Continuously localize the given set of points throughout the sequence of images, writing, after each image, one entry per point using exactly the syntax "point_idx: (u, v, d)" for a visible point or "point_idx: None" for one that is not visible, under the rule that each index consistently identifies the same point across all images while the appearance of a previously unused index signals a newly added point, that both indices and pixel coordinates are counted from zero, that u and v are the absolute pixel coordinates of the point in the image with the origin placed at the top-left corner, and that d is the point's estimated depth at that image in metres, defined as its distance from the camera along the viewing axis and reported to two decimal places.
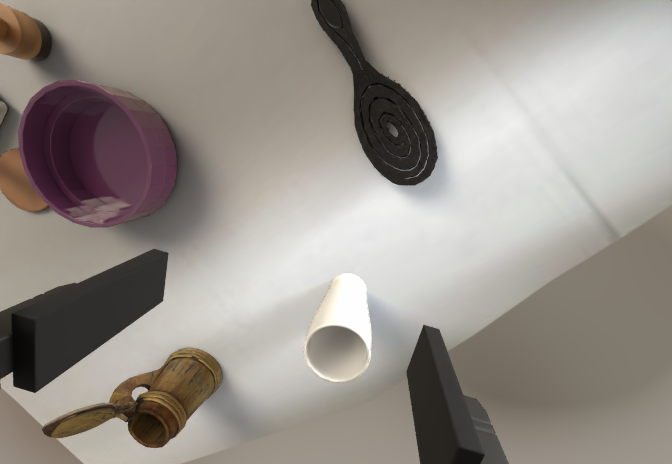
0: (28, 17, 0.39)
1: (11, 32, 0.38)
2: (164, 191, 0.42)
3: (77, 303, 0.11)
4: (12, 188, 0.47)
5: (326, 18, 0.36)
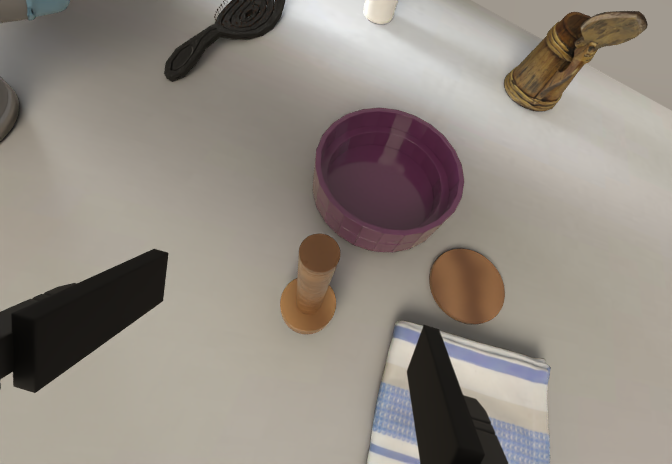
0: None
1: None
2: None
3: (77, 303, 0.11)
4: (487, 297, 0.37)
5: (188, 57, 0.45)
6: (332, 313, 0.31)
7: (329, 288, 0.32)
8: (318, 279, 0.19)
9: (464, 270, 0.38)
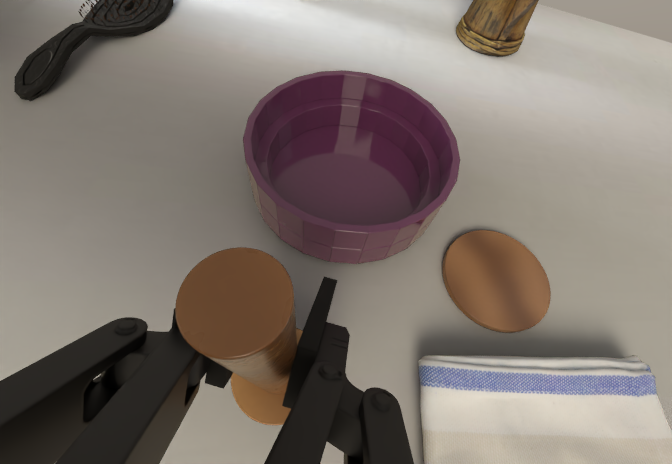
0: None
1: None
2: None
3: None
4: (527, 288, 0.27)
5: (46, 64, 0.33)
6: None
7: None
8: (255, 365, 0.07)
9: (487, 259, 0.28)
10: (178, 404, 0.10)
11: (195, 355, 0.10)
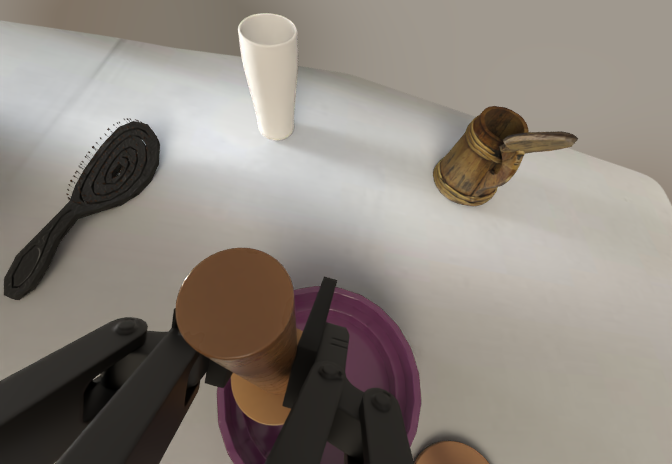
0: None
1: None
2: None
3: None
4: None
5: (34, 263, 0.34)
6: None
7: None
8: (255, 366, 0.07)
9: None
10: (178, 404, 0.10)
11: (195, 355, 0.10)
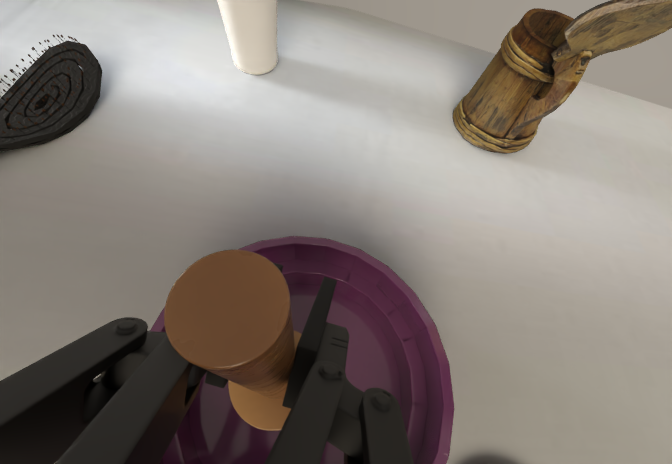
0: None
1: None
2: None
3: None
4: None
5: None
6: None
7: None
8: (250, 374, 0.07)
9: None
10: (178, 404, 0.10)
11: None
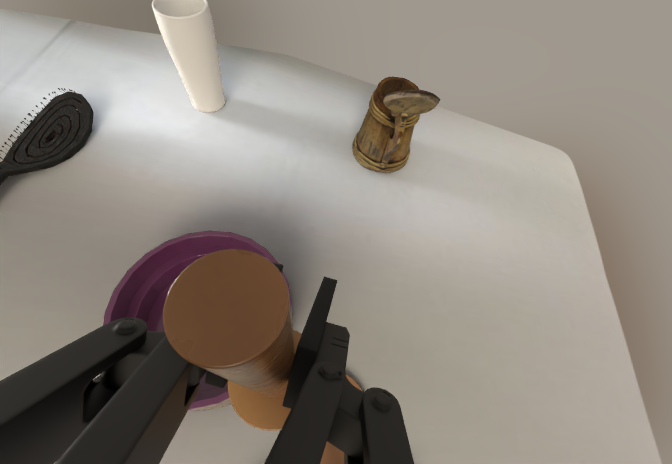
0: None
1: None
2: None
3: None
4: None
5: None
6: None
7: None
8: (249, 374, 0.07)
9: None
10: (178, 404, 0.10)
11: None
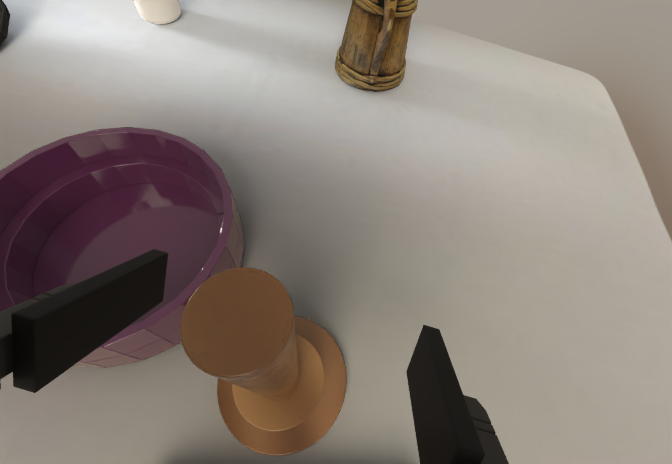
0: None
1: None
2: None
3: (77, 303, 0.11)
4: None
5: None
6: (321, 385, 0.19)
7: (307, 344, 0.20)
8: (257, 381, 0.08)
9: None
10: None
11: None
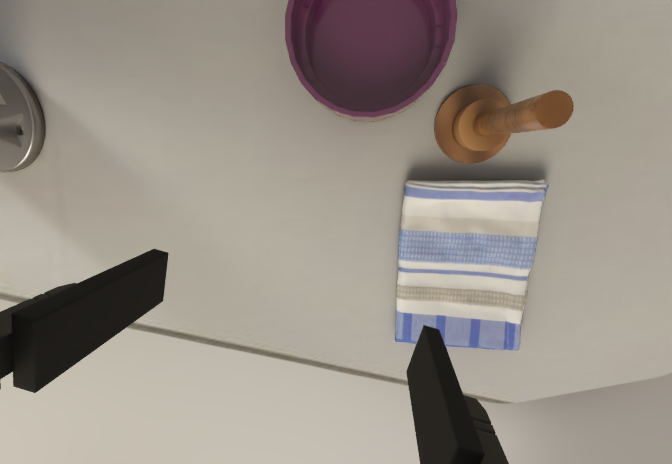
0: (454, 123, 0.37)
1: (479, 111, 0.35)
2: None
3: (78, 303, 0.11)
4: None
5: None
6: None
7: (501, 106, 0.34)
8: (545, 128, 0.23)
9: None
10: None
11: None
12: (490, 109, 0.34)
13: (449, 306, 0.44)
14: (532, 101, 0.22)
